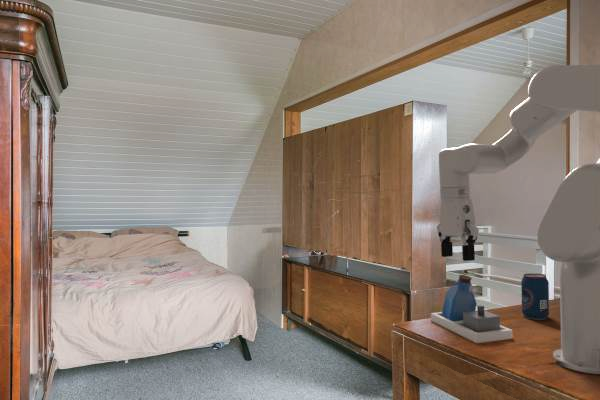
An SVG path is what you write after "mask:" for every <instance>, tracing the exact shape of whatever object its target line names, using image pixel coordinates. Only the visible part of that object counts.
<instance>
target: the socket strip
mask: <svg viewBox="0 0 600 400" xmlns="http://www.w3.org/2000/svg"><path fill="white" fill-rule="evenodd" d="M430 321H431V322H433V323H435V324H437V325H439V326H442V327H443V328H445V329H447V330H448V331H451V332H453V333H455V334H457V335H459V336H462V337H463V338H466V339H467V340H469V341H471V342H474V343H475V344H480V343H487V342H488V343H489V342H495V341H503V340H510V339H511V340H513V339H514V334H513V329H511V328H509V327H506V326H504V325H501V324H500V330H496V331H488V332H479V333H477V332H475V331H473V330H470V329H468V328H466V327H464V326H463V320H462V321H451V320H449V319H446V318H445V316H444V315H443V313H442V311H439V312H431V313H430Z"/></svg>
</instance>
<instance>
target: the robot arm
mask: <svg viewBox="0 0 600 400" xmlns="http://www.w3.org/2000/svg"><path fill="white" fill-rule="evenodd" d="M527 94H528V98H526V99H525V100H523V101H522V102H521V103H520V104H519V105H517V106H516V107H515V108H514V109H512V110H511V112H510V114H509V121H510V124H511V129H510V130H509V131H508V132H507V133H506V134H505V135H504V136H502V137H501V138H500V139H498V140H497V141H495V142H494V143H492V144H489V143H467V144H464V145H461V146H459V147H450V148H449V147H448V148H444V149H443V148H442V149H441V150H440V151H439V152H438V169H439V171H438V172H439V193H440V194H439V196H440V197H439V198H440V200H439V201H440V205H439V206H440V207H439V224H437V225H436V230H437V234H438V237H439V242H440V248H441V250H440V251H441V252H440V253H441V257H443V258H447V257H448V258H449V257H453V256H454V255H453V254H454V253H453V252H454V251H453V241H452V239H453V238H460V239H461V242H462V243H463V245H461V246H462V247H461V250H462V251H461V252H462V261H463V262H469V261H471V262H472V261H475V259H476V258H475V257H476V255H475V254H476V253H475V246H476V244H477V242H476V241H478V236H479V235H478V234H479V231H480V230H479V228H478V227H477V225H476V218H475V210H474V206H473V205H474V204H473V201H472V198H471V192H470V191H471V189H470V188H471V186H470V174H477V175H478V174H479V175H480V174H497V173H500V172H502V171H504V170H506V169H508V168H509V167H511V166H512V165H514V164H515V163H516V162H518V161H520V160H521V159H522V158H524V156H525V157H526V155H527V154H528V153H529V152H530V150H531V149H532V147H533V146H534V145H535V143H536V141H537V139H538V138H540V137H541V136H543V135H544V134H545V133H547V132H548V131H549V130H551V129H552V128H554V127H555V126H557V125H558V124H560V123H561V122H562V121H564V120H566V119H567V118H568V117H570V116H572V114H575V112H577V111H582V112H583V111H584V112H585V111H586V112H597V113H600V64H555V65H550V66H547V67H544V68H542V69H540V70H539V71H537V72H536V73H535V74H534V75H533V77H531V79H530V82H529V84H528V88H527ZM536 237H537V238H536V239H537V245H538V246H539V249H540V251H541V252H542V254H544V256H546V257H547V258H548V259H550V260H552V261H555V262H559V263H561V266H560V273H559V275H560V276H559V301H560V302H559V303H560V304H559V305H560V307H559V308H560V311H559V312H560V347H561V348H560V349H556V350H554V351H553V353H552V356H553V359H555V360H556V361H555V363H556V364H558V365H560V366H562V367H564V368H566V369H568V370H573V371H575V372H581V373H585V374H592V375H600V158H599V159H598V160H597V162H596V163H587V164H583V165H579V166H577V167H576V168H574V169H573V170H570V172H569V173H568V174H567V175H566V176H565V177H564V178H563V180H562V181H561V182H560V184H559V186H558V187H557V189H556V192H555V194H554V196H553V197H552V200H551V202H550V204H549V205H548V208H547V210H546V212H545V213H544V215H543V218H542V219H541V222H540V224H539V227H538V230H537V236H536Z"/></svg>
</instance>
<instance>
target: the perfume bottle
mask: <svg viewBox="0 0 600 400" xmlns="http://www.w3.org/2000/svg"><path fill="white" fill-rule="evenodd" d="M458 277H459V278H458V279H457V281H456V284H457V285H455V284H453V285H452V286H451V287H449V289H447V290H446V291H445V292H446V293H445V297H444V302H443V306H442V310H441V312H442V313H443V315H444V316H445V318H446V319H449V320H451V321H462V320H463V312H472V311H477V310H476V309H477V306H478V305H477V300H476V297H475V294H474V292H473V291H472V290H471V289H470V287H472V282H471V280H472V277H471V276H469V275H466V274H459V276H458Z"/></svg>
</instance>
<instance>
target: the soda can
mask: <svg viewBox="0 0 600 400" xmlns="http://www.w3.org/2000/svg"><path fill="white" fill-rule="evenodd" d="M520 283H521V287H520V289H521V312H522V314H523V316H524V317H525V318H526V319H528V320H537V321H542V320H546V319H548V317H549V315H550V293H549V292H550V290H549V289H550V287H549V286H550V285H549V280H548V278H547V275H545V274H542V273H524V274H523V277H522V279H521V282H520Z"/></svg>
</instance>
